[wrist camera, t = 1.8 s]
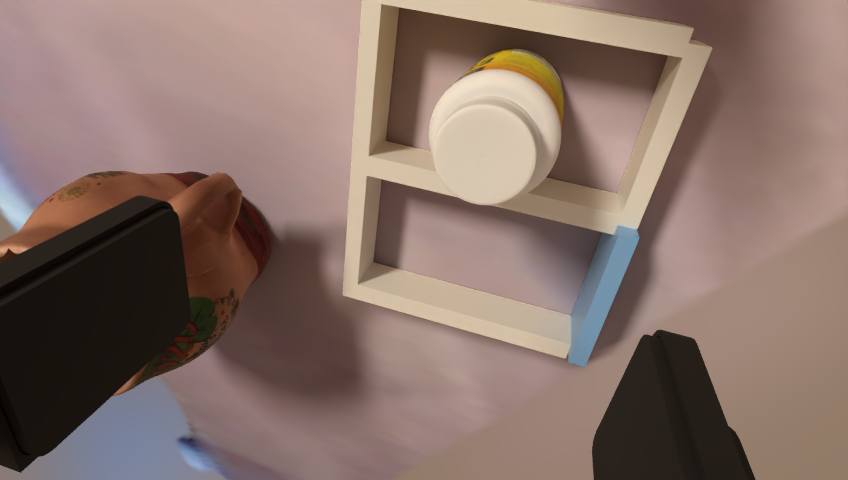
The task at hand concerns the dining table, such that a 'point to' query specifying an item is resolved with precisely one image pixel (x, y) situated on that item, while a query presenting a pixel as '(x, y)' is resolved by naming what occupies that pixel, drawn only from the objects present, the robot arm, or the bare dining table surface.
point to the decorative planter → (201, 238)
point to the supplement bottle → (498, 128)
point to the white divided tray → (552, 199)
